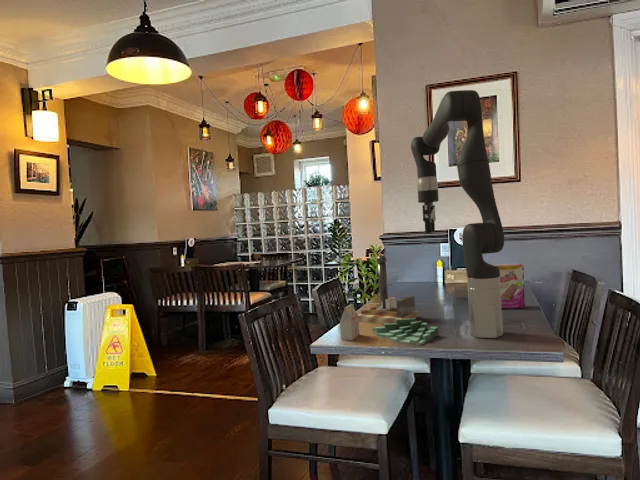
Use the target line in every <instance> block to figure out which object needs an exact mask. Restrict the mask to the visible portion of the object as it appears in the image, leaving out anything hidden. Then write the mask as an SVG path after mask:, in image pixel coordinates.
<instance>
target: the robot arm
mask: <svg viewBox="0 0 640 480" xmlns="http://www.w3.org/2000/svg"><path fill="white" fill-rule="evenodd" d="M479 94H480V93H478V92H477V91H476V90H474V89H473V90H472V89H469V90H467V89H464V90H460V89H459V90H451V91H448V92H446V93H445V94H444V96H443V97H442V98H441V100H440V103H439V106H438V107H437V110H436V113H435V114H434V117H433V119H432V121H431V123H430V124H429V125H428V127H427V128H426V129H425V131H424V133H423V134H422V136H416V137H414V138H413V139H411V140H412V141H410V142H411V143H410V149H411V153H412V155H413V158H414V162H415V166H416V172H417V173H416V174H417V187H416V188H417V200H418V203H419V204H423V205H422V221H423V223H424V233H425V234H431V233H434V232H435V231H436V228H435V227H436V226H435V225H436V219H437V218H436V206H435V204H434V203H436V202H439V201H440V199H439V184H438V176H437V175H438V174H437V164H436V162H434V161H432V160H427V159H426V158H425V157H424V156H434V155H436V154H438V153H439V152H440V148H441V144H442V143H443V141H444V140H445V139H446V138H447V136H448V135H449V132H450V126H449V123H448V122H466V125H467V126H466V127H467V134H466V139H465V141H464V144H463V145H462V148H461V149H460V152H459V154H458V157H457V160H456V168H457V169H456V170H457V176H458V180H459V183H460V184H459V185H460V186H461V188H462V189H463V190H464V192H465V193H466V195H468V197H469V198H470V199H471V200H472V202H473V203H474V204H475V205H476V207H477V209H478V211H479V213H480V217H481V219H482V220H481V221H482V222H476V223H475V222H474V223H468V224H466V225H465V226H464V228H463V230H462V238H461V239H462V248H463V256H464V257H463V259H464V268H465V270H466V281H467V298H468V300H467V301H468V316H469V317H468V318H469V321H468V322H469V334H470V335H471V336H473V337H474V338H480V339H481V338H488V339H497V338H499V337H502V336H503V335H504V330H503V329H504V328H503V313H502V312H503V311H502V310H503V309H502V306H501V287H500V270H499V267H497V266H495V265H496V264H490V263H488V262H486V261H485V260H484V257H483V255H484V254H485V255H486V254H495V253H496V254H497V253H500V252H501V251H502V250H503V248H504V246H505V232H504V228H503V224H502V220H501V217H500V214H499V210H498V207H497V206H498V205H497V202H496V198H495V192H494V188H493V182H492V173H491V168H490V163H489V157H488V153H487V148H486V141H485V135H484V134H485V133H484V124H483V111H482V102H481V97H480V95H479Z"/></svg>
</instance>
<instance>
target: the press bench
mask: <svg viewBox="0 0 640 480" xmlns="http://www.w3.org/2000/svg"><path fill="white" fill-rule="evenodd" d="M415 304H416V303H415V295H407V296H404V297H402V298H399V299H396V306H397V307H395V308H393V312H389V311H376V309H377V308H380V306H370V307H369V309H360V313H358V314H357V315H358V319H359V323H360V322H362V323H373V324H381V325H382V324H383V325H384V324H392V323H396V319H414V318H415V319H416V318H419V314H418V313H419V311H416V305H415Z"/></svg>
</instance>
